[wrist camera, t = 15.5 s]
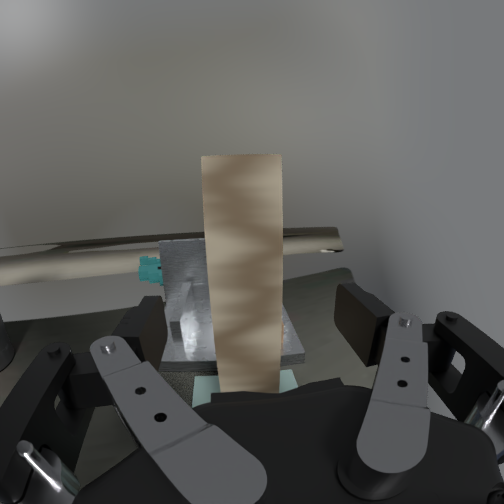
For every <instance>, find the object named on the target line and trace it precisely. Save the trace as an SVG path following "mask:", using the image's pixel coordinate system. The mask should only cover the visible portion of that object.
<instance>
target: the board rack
mask: <svg viewBox="0 0 504 504" xmlns="http://www.w3.org/2000/svg"><path fill="white" fill-rule="evenodd" d="M158 244H159V253H160V262H161V270H162V277H163V285H164V291H165V298H166V306H165V309H164V311H165V317H166V323H167V328H168V339H167V343H166V346H165V349H164V353H163V356H162V360H161V363H160V366H159V370H158V371H168V372H196V371H218V368H217V360H216V352H215V343H214V334H213V325H212V315H211V305H210V294H209V283H208V271H207V258H206V244H205V238H200V239H182V240H165V241H159V242H158ZM282 321H283V324H284V336H283V343H281V362H280V366H285V365H293V364H300V363H304V361H305V351H304V349H303V347H302V345H301V342H300V340H299V338H298V336H297V334H296V332H295V330H294V327H293V325H292V323H291V321H290V319H289V317H288V315H287V313H286V310H285V308H284V306H283V304H282Z"/></svg>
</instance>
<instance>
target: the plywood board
mask: <svg viewBox="0 0 504 504" xmlns="http://www.w3.org/2000/svg"><path fill="white" fill-rule="evenodd" d="M281 158H282V155H281V154H251V155H249V154H248V155H218V156H202V157H201V160H202V188H203V210H204V228H205V244H206V258H207V271H208V283H209V294H210V305H211V315H212V325H213V334H214V343H215V352H216V360H217V368H218V376H219V383H220V391H221V392H237V391H249V392H262V393H279V385H280V362H281V331H282V279H283V278H282V277H283V215H282V214H283V213H282V209H283V206H282V159H281Z"/></svg>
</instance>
